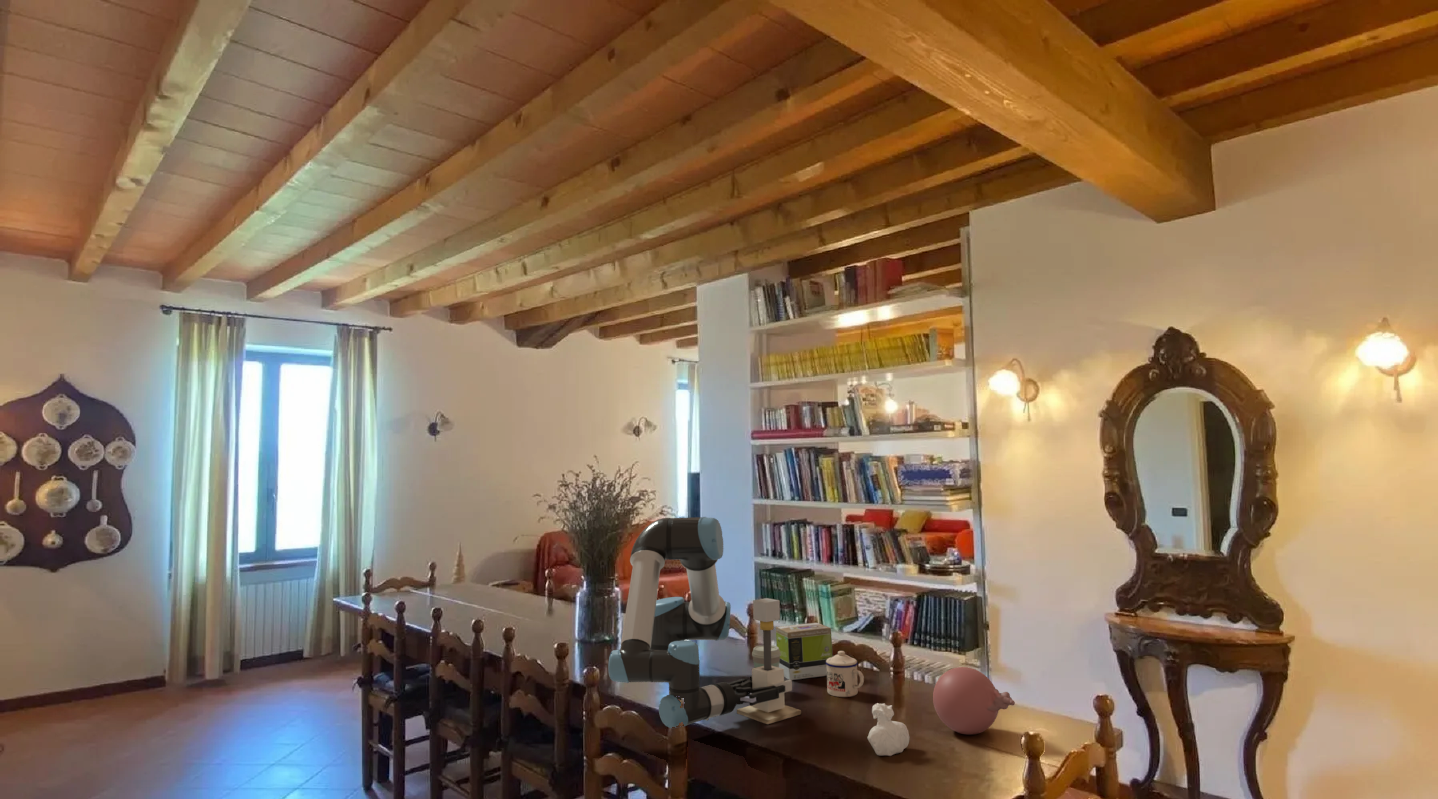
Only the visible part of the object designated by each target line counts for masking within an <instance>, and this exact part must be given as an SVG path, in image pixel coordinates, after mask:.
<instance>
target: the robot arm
mask: <svg viewBox="0 0 1438 799" xmlns="http://www.w3.org/2000/svg"><path fill="white" fill-rule="evenodd" d="M722 530H723V529H722V526H721V523H720V521H719V520H718V519H717V518H715V517H707V516H700V517H697V516H696V517H663V518H662V517H661V518H659V519H656V520H654V521H652V522H651V523H650V524H649V525H648V526H646V527H645V528H644V529H643V530H642V531H641V532H640V534H639V535H638V536H637V537H636V539H635V541H634V543H633V546H632V549H631V551H630V552H631V553H630V558H629V562H630V565H631V566H632V570H631V576H630V582H629V587H628V588H629V589H628V595H627V602H626V608H625V614H624V622H623V630H622V636H621V641H620V648H619V649H614V650H612V651H611V652H610V654H609V657H608V665H607V666H608V668H607V669H608V670H607V671H608V676H609V679H610V680H611V681H613V682H616V683H626V684H629V683H668V694H666V696H663V697H662V698H661V699H660V702H659V705H658V713H659V717H660V720H661V722H662V724H664V726H665V727H668V728H669V729H673V728H672V727H675V728H677V727H676V726H678V725H679V723H681V722H683V724H684V726H683V727H686V726H688V725H692V724H694V723H697V722H700V721H706V722H707V721H709V720H710V719H712V718H716V717H718V716H723V715H727V714H730V713H732V712H733V711H734V710H735V708H736V706H738V705H743V704H746V703H748V704H749V705H748V706H753V705H755V704H757V703H761V702H765V701H770V700H774V699H778V698H779V694H781V693H784V694H785V693H789V692H792V691H793V680H789V679H787V680H784V681H783V682H779V683H775V684H772V686H767V687H760V688H752V675H751V676H749V679H748V678H747V677H743V678H740V679H738V680H737V679H736V680H733V681H730V682H726V681H722V682H718V683H714V684H709V685H705V686H700V682H701V680H700V675H701V674H700V672H701V671H700V665H701V664H700V663H701V661H700V653H699V650H700V649H699V645H698V643H696V642H695V641H696V640H697V641H700V640H701V641H719V640H720V641H721V640H726V639H728V638H729V636H730V635H729V634H730V624H731V607H732V606H731V603H730V602H729V601H726V600H724V598H723V597H722V596H721V595H720V592H719V585H718V584H719V583H718V576H717V566H716V564H717V562H718V560H720V559H722V558H723V556H724V538H723V531H722ZM667 560H671V561H674V560H675V561H677V560H679V562H680V563H681V565H682V567H683V568H684V569H686V575H687V581H688V587H689V592H690V598H691V599H690V601H685V598H684V597H682V596H672V597H665V598H660V599H658V592H659V582H660V573H661V570H662V569H663V568H664V566H665V563H666V561H667ZM676 696H677V697H676ZM678 696H680V697H678ZM681 698H684V702H685V704H684V709H683V708H680V706H681V702H680V701H679V700H678V699H680V700H681Z"/></svg>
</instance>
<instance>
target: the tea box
mask: <svg viewBox="0 0 1438 799" xmlns="http://www.w3.org/2000/svg"><path fill="white" fill-rule="evenodd" d="M775 631H776V632H775V638H776V647H778V648H779V651H780V654H781V656H780V660H779V668H782V669H784V679H785V678H786V679H787V680H792V681H794V680H802V679H803V680H804V679H811V678H819V677H827V664H826V660H827V659H828V658H831V657H833V656H834V655H833V642H832V628H831V627H829V626H826V625H824V624H821V623H819V622H810V623H799V624H792V625H791V624H789V625H781V626H776V627H775Z"/></svg>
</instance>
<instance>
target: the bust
mask: <svg viewBox="0 0 1438 799" xmlns="http://www.w3.org/2000/svg"><path fill="white" fill-rule="evenodd" d="M871 714H872V716H873V719H874V720H875V719H877V721H876V722H877V723H876V725H874V726H873V727H872V728H871V729H870V730H869V733H868V736H867V740H868V742H869V743H870V745H871V747H872V749H873V750H874V752H875V754H876V755H877V756H881V757H882V756H888V757H891V756H893V755H895V754H896V755H897V754H899V753H903V751H904V749H906V748H907V747H908V745H909V743H910V734H909V731H910V730H909V729H908V728H907V725H906V724H904V722H900V721H895V720H892V719H893V717H894V715H895V712H894V710H893V704H892V705H887V704H886V703H880V702H879V703H878V702H877V703H875V704H873V705H872V708H871Z"/></svg>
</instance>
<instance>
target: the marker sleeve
mask: <svg viewBox="0 0 1438 799" xmlns="http://www.w3.org/2000/svg"><path fill="white" fill-rule="evenodd" d="M771 667H772V670H769V671H766V670H764V666H761V667H757V668H751V676H752V688H760V687H767V686H772V684H775V683H779V682H783V681H785V677H784V669H782V668H778V667H775V666H771ZM785 705H786V704H785V693H781V694H779V698H778V699H774V700H770V701H765V702H761V703H757V704H755V705H753V708H756V709H759V710H762V711H765V712H772V711H775V710H778V709H782V708H785Z"/></svg>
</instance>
